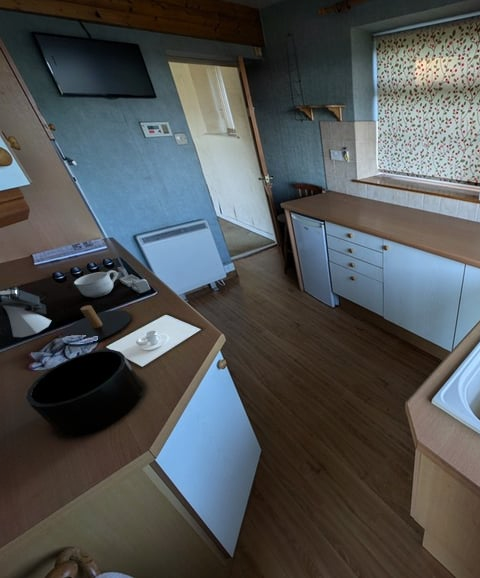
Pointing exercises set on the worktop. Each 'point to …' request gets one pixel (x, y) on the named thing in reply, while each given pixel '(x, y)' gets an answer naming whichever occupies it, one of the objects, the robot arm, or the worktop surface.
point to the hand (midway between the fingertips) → (32, 311)
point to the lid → (99, 323)
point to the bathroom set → (132, 281)
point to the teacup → (96, 283)
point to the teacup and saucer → (153, 339)
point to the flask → (25, 321)
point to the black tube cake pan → (86, 392)
